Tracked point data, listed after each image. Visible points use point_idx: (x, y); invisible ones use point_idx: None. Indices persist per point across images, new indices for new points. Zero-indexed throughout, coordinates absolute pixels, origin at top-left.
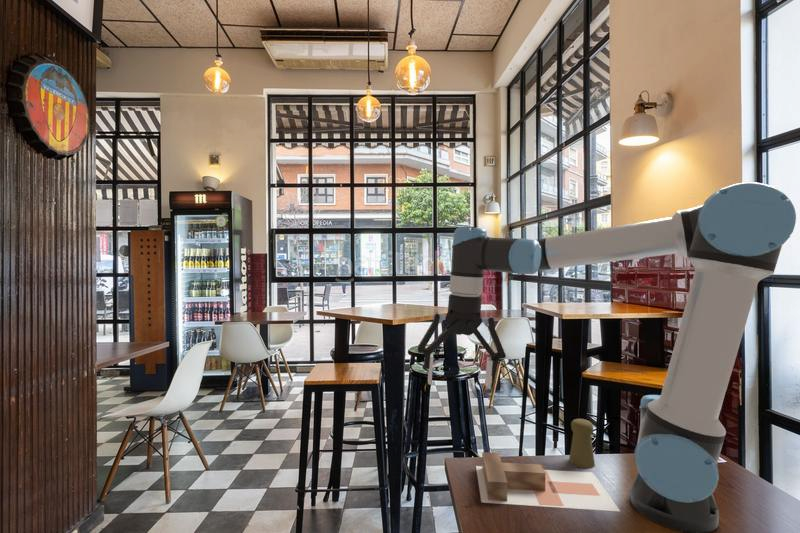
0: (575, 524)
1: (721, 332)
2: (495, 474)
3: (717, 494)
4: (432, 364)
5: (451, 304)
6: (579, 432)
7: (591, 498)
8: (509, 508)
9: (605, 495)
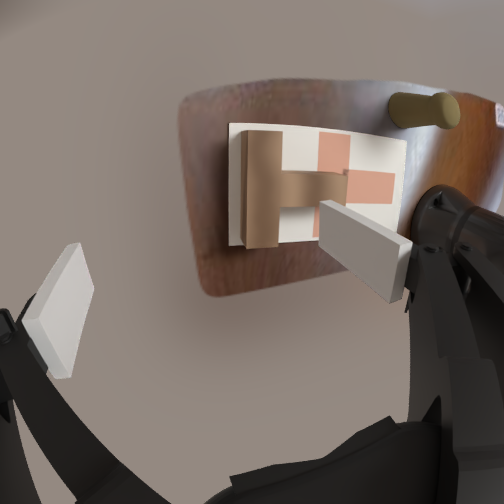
0: (340, 268)
1: None
2: (262, 223)
3: (477, 189)
4: (75, 346)
5: None
6: (435, 123)
7: (380, 211)
8: (269, 250)
9: (397, 202)
